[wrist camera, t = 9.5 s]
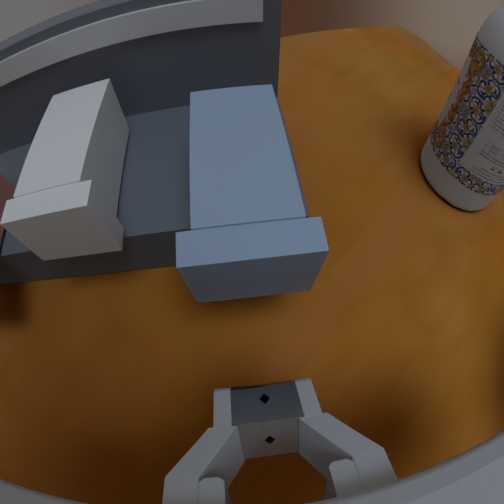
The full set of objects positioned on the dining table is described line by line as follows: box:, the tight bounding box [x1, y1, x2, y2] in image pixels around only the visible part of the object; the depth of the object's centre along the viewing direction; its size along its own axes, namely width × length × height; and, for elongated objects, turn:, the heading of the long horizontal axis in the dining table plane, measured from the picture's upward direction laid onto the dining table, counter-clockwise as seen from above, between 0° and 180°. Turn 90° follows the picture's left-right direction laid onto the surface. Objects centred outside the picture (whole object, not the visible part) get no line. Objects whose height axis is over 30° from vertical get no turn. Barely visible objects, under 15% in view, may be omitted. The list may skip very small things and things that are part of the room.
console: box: [0, 0, 308, 284], centre depth 15 cm, size 11×22×12 cm, turn 97°
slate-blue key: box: [176, 84, 329, 303], centre depth 13 cm, size 8×5×4 cm, turn 7°
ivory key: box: [0, 78, 129, 261], centre depth 14 cm, size 8×5×4 cm, turn 7°
